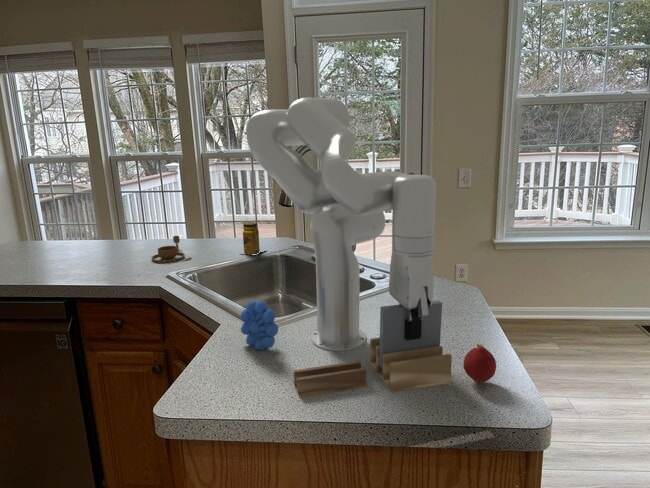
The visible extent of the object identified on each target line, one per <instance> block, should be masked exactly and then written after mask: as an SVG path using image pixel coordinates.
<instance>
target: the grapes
mask: <svg viewBox="0 0 650 488" xmlns="http://www.w3.org/2000/svg"><path fill="white" fill-rule="evenodd" d="M240 319H241V321H243V323H242V325H241V327H240V332H241V334H243V335H245V336H246V339H245V342H246V344H247V345H248V346H250V347H252V346H254V349H255V350H257V351H264V350H266V348H268V349H269V348H272V347H273V346H274V345H275V341H276V338H275V336H276V335H277V334H278V333H279V332H278V331H279V326H278V325H277V324H276V323H275V319H276V313H275V311H274V310H273V309H270V308H269V309H268V304H267V302H266V301H264V300H258V301H255V300H250V301H248V302H247V304H246V306H245V309H243V311H241V313H240Z"/></svg>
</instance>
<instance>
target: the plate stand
mask: <svg viewBox="0 0 650 488" xmlns="http://www.w3.org/2000/svg"><path fill="white" fill-rule="evenodd" d="M292 382H293V385H294V388H295V390H296V393H297V396H298V398H299V399H300V398H301V399H302V398H307V397H314V396H319V395H320V396H321V395H326V394H331V393H338V392H344V391H350V390H357V389H363V388H368V387H369V385H368V384H367V369H366V367H362V362H361V361H360V360H354V361H348V362H341V363H340V362H339V363H334V364H327V365H322V366H321V365H320V366H315V367H307V368H301V369H295V370H293V380H292Z"/></svg>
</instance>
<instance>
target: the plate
mask: <svg viewBox="0 0 650 488" xmlns="http://www.w3.org/2000/svg"><path fill="white" fill-rule="evenodd" d="M379 310H380V311H379V312H380V318H379V321H380V322H379V337H380V350H379V366H380V367H381V368H383V354H388V353H395V352H401V351H408V350H415V349H422V348H429V347H436V346H441V335H442V333H441V331H442V330H441V329H442V317H443V316H442V313H443V302H442V301H440V300H439V299H438V300H433V302H432V305H431V307H428V314H429V315H428V317H423V320H422V327H421V338H420V339H414V340H406V339H405V320H407V309H406V308H405V307H404V306H402V305H399V304H394V305H385V306H380V309H379ZM414 310H418V309H413V311H414Z"/></svg>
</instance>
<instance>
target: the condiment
mask: <svg viewBox="0 0 650 488" xmlns="http://www.w3.org/2000/svg"><path fill="white" fill-rule="evenodd" d="M242 225H243V226H242V228H243V230H242V242H243V253H244V254H247V255H246V256H249V255H252V254H257V253H259V251H260V250H261V249H260V234H259V228H258V224H257V222H256V221H255V222H254V221H252V222H251V221H250V222H249V221H248V222H244V223H242Z"/></svg>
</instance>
